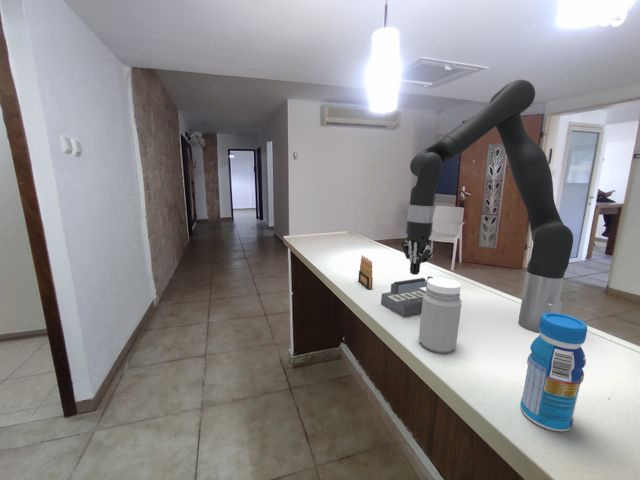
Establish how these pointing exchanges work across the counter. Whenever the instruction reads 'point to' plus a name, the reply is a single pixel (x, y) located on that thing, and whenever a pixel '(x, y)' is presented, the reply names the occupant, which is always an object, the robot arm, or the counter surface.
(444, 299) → the jar
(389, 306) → the grey block
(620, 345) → the counter surface
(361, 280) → the ammunition clip
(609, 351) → the counter surface
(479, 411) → the counter surface
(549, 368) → the beverage bottle
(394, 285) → the bar
